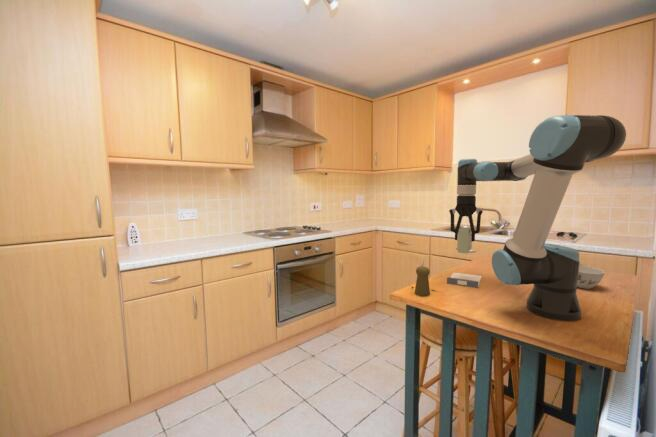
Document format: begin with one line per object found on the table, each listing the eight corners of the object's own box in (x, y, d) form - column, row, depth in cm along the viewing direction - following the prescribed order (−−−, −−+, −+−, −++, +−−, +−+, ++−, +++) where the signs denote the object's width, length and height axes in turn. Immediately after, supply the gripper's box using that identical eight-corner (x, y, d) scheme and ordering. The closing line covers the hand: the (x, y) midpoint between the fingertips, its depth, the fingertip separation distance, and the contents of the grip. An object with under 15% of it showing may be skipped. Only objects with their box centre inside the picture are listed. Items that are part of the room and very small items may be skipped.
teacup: (601, 294, 119) (603, 274, 118) (561, 287, 128) (563, 268, 127) (603, 284, 130) (605, 266, 129) (567, 278, 138) (568, 261, 137)
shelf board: (477, 291, 124) (478, 282, 124) (446, 286, 130) (447, 277, 130) (481, 278, 140) (481, 270, 139) (453, 274, 146) (453, 267, 145)
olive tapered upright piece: (429, 291, 124) (430, 265, 123) (430, 297, 119) (431, 269, 117) (414, 290, 126) (415, 264, 125) (414, 295, 120) (415, 268, 119)
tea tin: (468, 253, 130) (469, 230, 129) (457, 252, 132) (458, 229, 131) (470, 249, 137) (471, 228, 136) (460, 249, 139) (461, 227, 138)
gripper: (489, 195, 131) (486, 248, 133) (446, 194, 139) (445, 244, 142) (488, 195, 124) (485, 251, 127) (443, 195, 133) (442, 247, 136)
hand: (464, 247), depth 134 cm, fingers closed on tea tin, 4 cm apart
